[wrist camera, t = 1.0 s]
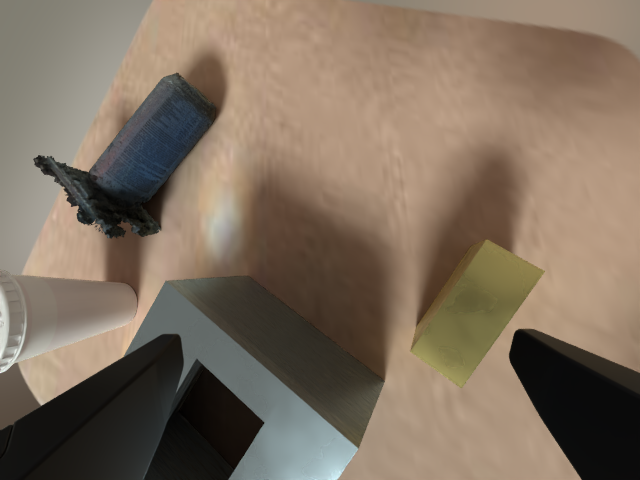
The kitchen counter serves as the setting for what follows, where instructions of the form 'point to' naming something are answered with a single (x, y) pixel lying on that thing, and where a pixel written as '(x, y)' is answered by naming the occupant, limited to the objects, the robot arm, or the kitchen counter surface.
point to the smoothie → (57, 313)
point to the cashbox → (259, 383)
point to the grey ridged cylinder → (137, 159)
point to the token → (473, 310)
